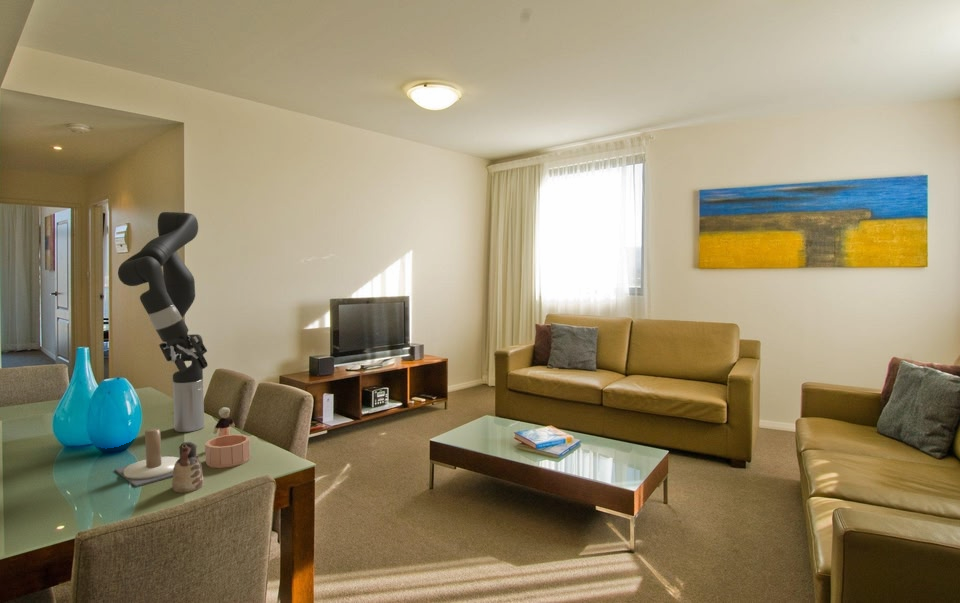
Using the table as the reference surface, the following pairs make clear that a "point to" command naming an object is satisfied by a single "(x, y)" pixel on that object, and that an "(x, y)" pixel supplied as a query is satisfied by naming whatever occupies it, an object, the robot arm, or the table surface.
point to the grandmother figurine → (224, 422)
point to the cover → (151, 460)
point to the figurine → (187, 470)
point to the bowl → (227, 451)
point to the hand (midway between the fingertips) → (194, 369)
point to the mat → (142, 481)
